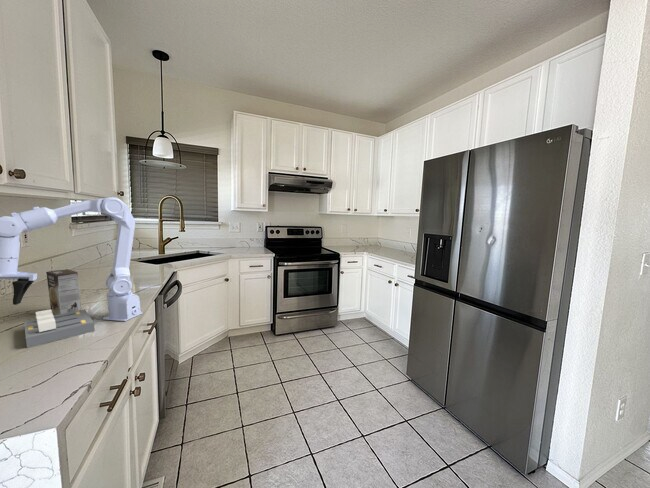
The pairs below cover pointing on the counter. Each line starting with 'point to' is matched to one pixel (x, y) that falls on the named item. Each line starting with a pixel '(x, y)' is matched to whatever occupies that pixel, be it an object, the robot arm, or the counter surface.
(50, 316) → the switch middle
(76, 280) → the coffee box
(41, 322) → the switch near
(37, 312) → the switch far
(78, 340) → the counter surface
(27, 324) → the switch box
